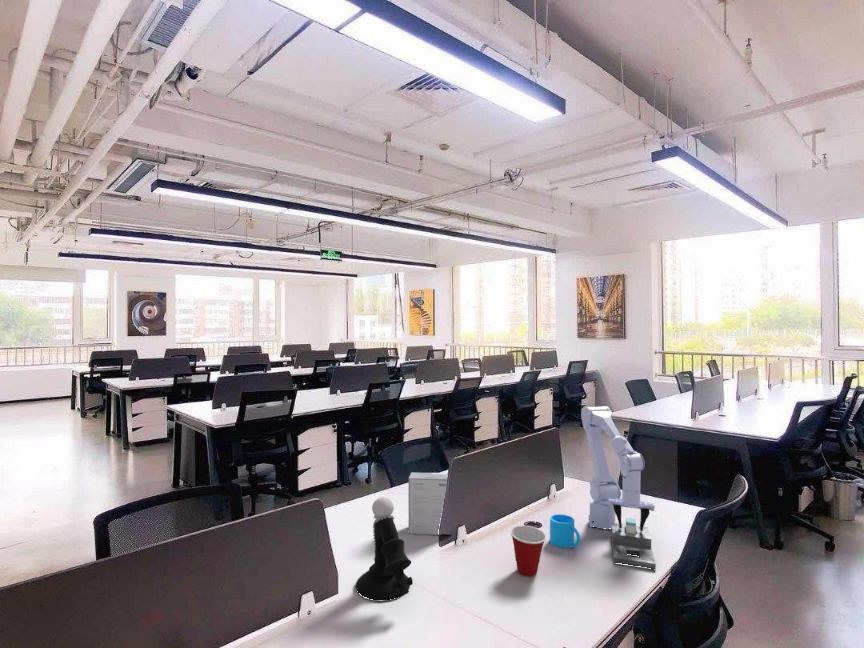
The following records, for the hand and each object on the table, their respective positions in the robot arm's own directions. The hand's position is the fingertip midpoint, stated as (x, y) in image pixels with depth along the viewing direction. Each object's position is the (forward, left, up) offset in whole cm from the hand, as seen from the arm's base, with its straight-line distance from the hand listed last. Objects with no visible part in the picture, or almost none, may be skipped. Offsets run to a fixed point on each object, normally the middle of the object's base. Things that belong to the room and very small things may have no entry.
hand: (630, 528), depth 170 cm
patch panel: (0, -6, -5) cm, 8 cm away
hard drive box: (-68, -13, -6) cm, 69 cm away
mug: (-21, -8, -6) cm, 23 cm away
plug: (0, 0, -3) cm, 3 cm away
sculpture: (-66, -56, -5) cm, 87 cm away
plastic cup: (-31, -31, -5) cm, 44 cm away
